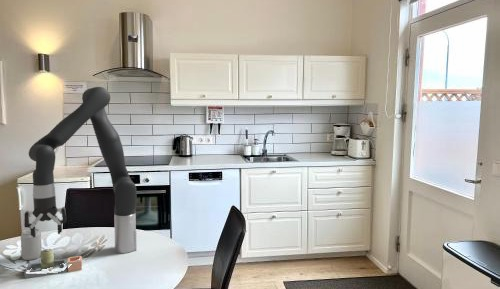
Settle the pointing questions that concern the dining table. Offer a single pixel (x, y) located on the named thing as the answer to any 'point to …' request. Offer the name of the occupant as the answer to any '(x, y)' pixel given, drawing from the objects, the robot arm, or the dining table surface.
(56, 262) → the trough
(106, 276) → the dining table surface
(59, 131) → the robot arm
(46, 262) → the cell
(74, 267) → the cup
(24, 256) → the can
